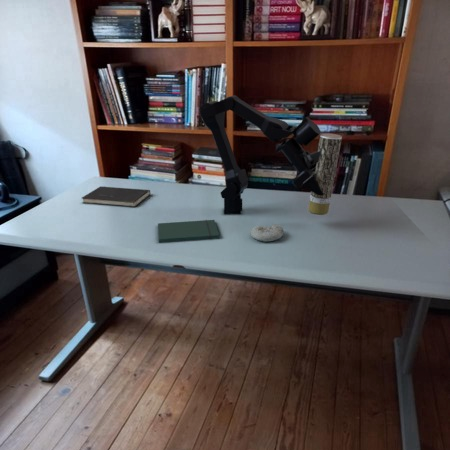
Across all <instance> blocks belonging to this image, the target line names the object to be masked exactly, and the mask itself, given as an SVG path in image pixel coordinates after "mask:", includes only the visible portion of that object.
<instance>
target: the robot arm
mask: <svg viewBox="0 0 450 450" xmlns="http://www.w3.org/2000/svg"><path fill="white" fill-rule="evenodd" d="M228 111H231V112H233V113H234V114H236V115H237V116H239V117H241V118H242V119H244V120H246V121H247V122H249V124H252V125H253V126H255V127H257V128H258V129H259V130H260V131H261V133H262V134H263V136H265V138H267V139H268V140H269V141H271V142H273V143H276V144H275V150H274V153H275V154H279V153H281V152H282V153H283V155H284V156H285V157H286V159H287V160H288V162H290V163H289V166H290V167H291V168H292V167H294V169H295V171H297V175H296V176H295V177H294V178H293V179H292V185H293V186H294V187H295V188H296V189H297V188H298V187H300V188H303V189H305V190H308V191H310V192H311V191H312V192H313V193H315V194H317V195H323V192H322V191H321V189H320V187H319V185H318V183H317V181H316V174H314V170H315V164H316V162H318V161H319V156H320V151H319V152H317V151H318V146H316V150H315V151H312V152H310V151H309V150H305V149H304V147H303V146H306V147H307V146H308V145H310V143H312V142H313V141H314V140H316V138H318V137H319V136H320V134H322V133H321V129H320V127H319V126H318V124H317V123H315V122H314V121H313V120H312V119H310V118H309V117H308V116H306V117H304V118H303V119H302V120H301V122H300V123H299V124H298V125H297V126H295V125H289V124H288V123H287V122H286V121H285V120H282V119H280V118H277V117H273V116H269V115H266V114H265V113H263V112H261V110H259V109H256V108H255V107H254V106H252V105H250V104H249V103H247V102H245V101H244V100H242V99H241V98H239V97H238V96H237V95H230V96H227V97H226V98H223V99H221V100H212V101H208V102H204V103H203V104H201V106H200V109H199V117H200V119H201V120H202V122H203V123H204V125H205V127H207V128H208V129H209V131H210V132H211V135H212V137H213V140H214V143H215V146H216V149H217V151H218V154H219V157H220V159H221V162H222V165H223V168H224V171H225V173H224V175H225V176H224V182H225V188H224V189H223V190H221V191H220V197H221V198H222V199H223V215H241V214H242V212H243V198H242V194H244V191H245V190H246V189H247V188H248V185H249V177H248V175H247V171H246V169H245V168H243V169H241V167H239V165H238V163H237V160H236V157H235V155H234V150H233V148H232V145H231V143H230V140H229V136H228V134H227V131H226V127H225V113H226V112H228ZM291 136H292V137H291ZM289 137H290V139H289ZM282 140H283V141H282ZM280 141H282V142H281V143H278V142H280Z"/></svg>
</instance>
